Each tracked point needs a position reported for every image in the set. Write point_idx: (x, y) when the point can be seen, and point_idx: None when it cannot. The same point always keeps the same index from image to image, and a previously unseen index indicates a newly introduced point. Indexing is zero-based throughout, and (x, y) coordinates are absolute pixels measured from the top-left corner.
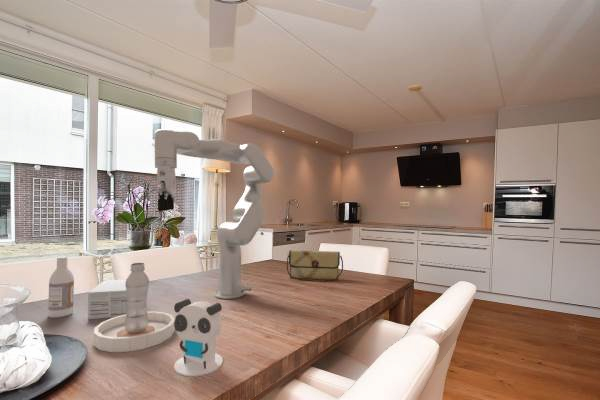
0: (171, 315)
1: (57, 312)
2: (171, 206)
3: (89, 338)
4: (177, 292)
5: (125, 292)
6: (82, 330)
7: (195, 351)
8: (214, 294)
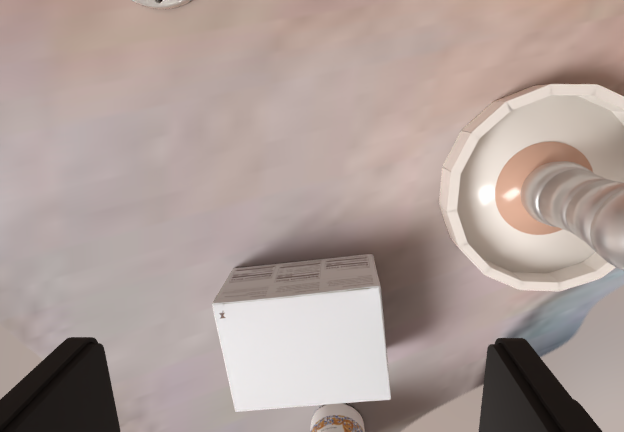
0: (504, 106)
1: (364, 430)
2: (77, 392)
3: (528, 292)
4: (125, 169)
5: (381, 297)
6: (468, 329)
7: None
8: (172, 7)
